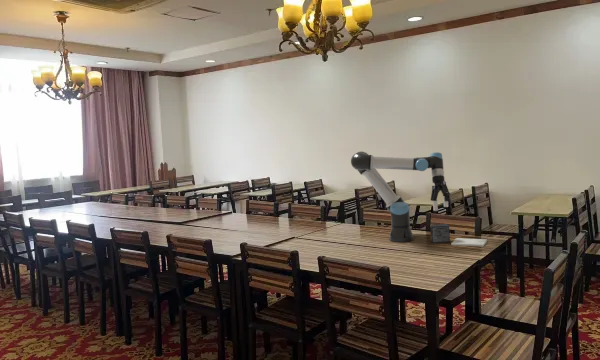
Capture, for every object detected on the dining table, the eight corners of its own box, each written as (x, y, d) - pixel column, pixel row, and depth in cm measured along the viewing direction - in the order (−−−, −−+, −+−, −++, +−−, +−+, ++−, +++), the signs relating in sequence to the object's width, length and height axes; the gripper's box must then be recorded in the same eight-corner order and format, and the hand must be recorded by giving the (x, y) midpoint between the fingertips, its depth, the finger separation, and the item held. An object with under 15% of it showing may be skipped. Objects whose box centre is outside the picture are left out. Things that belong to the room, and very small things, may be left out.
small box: (448, 240, 294) (447, 223, 293) (450, 242, 288) (449, 225, 287) (430, 241, 295) (429, 224, 294) (432, 243, 289) (431, 226, 288)
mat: (451, 245, 281) (451, 243, 281) (456, 239, 293) (456, 238, 293) (483, 246, 272) (483, 244, 272) (487, 241, 284) (487, 239, 284)
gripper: (453, 171, 294) (456, 205, 289) (434, 181, 318) (436, 212, 313) (442, 171, 293) (445, 204, 288) (423, 180, 317) (426, 212, 311)
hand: (440, 208), depth 300 cm, fingers open, 13 cm apart
